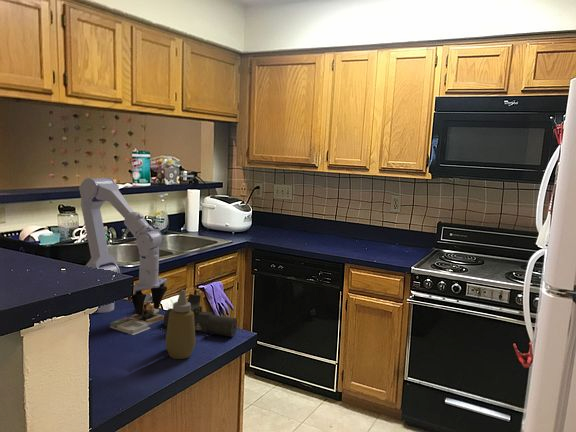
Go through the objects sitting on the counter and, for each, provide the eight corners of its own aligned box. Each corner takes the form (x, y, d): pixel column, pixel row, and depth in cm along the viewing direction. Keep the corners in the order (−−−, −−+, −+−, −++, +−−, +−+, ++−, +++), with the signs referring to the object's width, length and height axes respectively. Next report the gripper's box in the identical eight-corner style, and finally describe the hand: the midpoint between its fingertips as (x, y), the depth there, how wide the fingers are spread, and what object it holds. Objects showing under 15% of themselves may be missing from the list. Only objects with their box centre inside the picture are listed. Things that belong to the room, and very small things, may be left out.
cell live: (139, 320, 149) (139, 301, 148) (147, 317, 152) (148, 299, 151) (147, 323, 147) (147, 304, 146) (155, 319, 150) (156, 301, 149)
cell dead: (141, 311, 157) (142, 293, 156) (149, 308, 160) (150, 291, 159) (149, 313, 155) (150, 295, 155) (157, 310, 159) (158, 293, 158)
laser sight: (228, 343, 139) (230, 310, 137) (157, 332, 143) (158, 300, 142) (238, 331, 148) (240, 300, 147) (171, 321, 153) (172, 291, 151)
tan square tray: (129, 323, 148) (129, 316, 148) (147, 316, 155) (148, 309, 155) (146, 328, 144) (146, 321, 144) (164, 321, 151) (165, 314, 151)
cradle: (108, 330, 141) (109, 322, 141) (127, 323, 148) (127, 316, 147) (133, 338, 137) (133, 330, 136) (150, 331, 143) (151, 323, 143)
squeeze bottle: (198, 359, 126) (202, 293, 124) (168, 363, 123) (171, 296, 120) (190, 347, 133) (193, 285, 131) (161, 351, 130) (163, 287, 127)
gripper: (140, 275, 139) (139, 320, 141) (174, 267, 152) (173, 308, 154) (123, 271, 143) (122, 315, 144) (158, 263, 155) (156, 303, 157)
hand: (147, 311), depth 149 cm, fingers open, 7 cm apart
